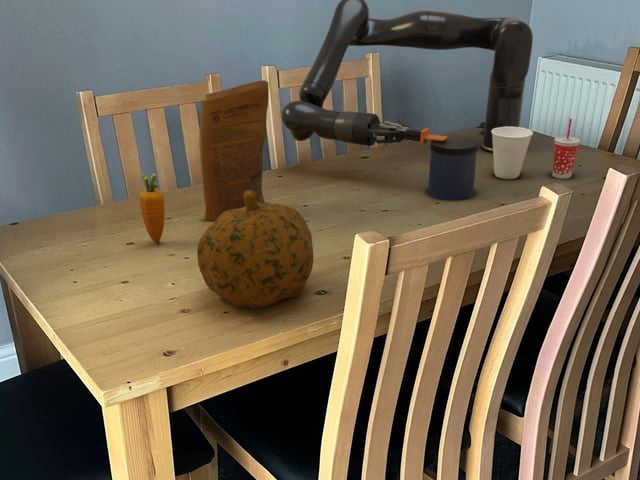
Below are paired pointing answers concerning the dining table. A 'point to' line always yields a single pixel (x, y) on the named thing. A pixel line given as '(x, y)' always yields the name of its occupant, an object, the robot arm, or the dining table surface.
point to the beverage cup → (564, 155)
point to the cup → (509, 150)
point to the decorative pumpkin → (256, 253)
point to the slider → (430, 136)
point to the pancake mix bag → (232, 146)
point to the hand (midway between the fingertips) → (422, 136)
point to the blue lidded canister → (452, 168)
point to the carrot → (152, 208)
